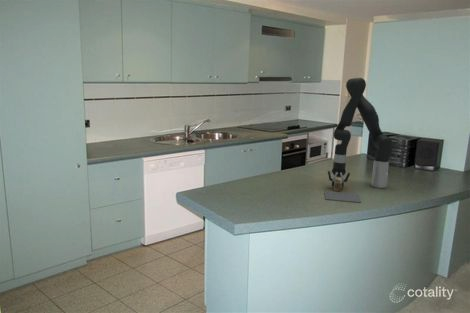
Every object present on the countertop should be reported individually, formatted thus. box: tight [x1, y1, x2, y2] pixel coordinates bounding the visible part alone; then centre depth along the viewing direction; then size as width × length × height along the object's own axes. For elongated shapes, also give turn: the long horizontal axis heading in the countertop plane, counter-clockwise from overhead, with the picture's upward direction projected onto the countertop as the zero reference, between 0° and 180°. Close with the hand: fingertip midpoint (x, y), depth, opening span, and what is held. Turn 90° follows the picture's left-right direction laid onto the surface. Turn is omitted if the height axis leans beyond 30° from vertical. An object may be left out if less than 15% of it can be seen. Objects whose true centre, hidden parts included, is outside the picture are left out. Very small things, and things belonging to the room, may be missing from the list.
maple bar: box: [333, 177, 343, 193], centre depth 255 cm, size 4×12×5 cm, turn 169°
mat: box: [324, 191, 362, 204], centre depth 238 cm, size 20×15×1 cm
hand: (337, 187), depth 256 cm, fingers closed on maple bar, 4 cm apart
